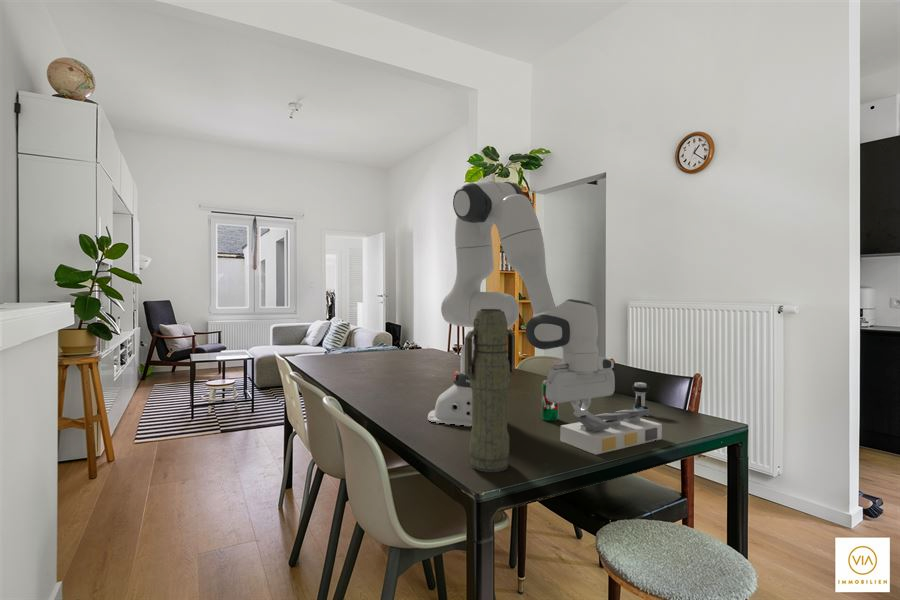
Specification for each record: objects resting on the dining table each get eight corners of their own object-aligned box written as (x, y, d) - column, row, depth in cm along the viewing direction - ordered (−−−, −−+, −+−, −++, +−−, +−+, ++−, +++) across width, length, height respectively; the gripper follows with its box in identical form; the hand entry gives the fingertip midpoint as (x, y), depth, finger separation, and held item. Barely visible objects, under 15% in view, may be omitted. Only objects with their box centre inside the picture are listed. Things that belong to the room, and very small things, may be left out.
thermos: (456, 463, 105) (457, 308, 105) (498, 454, 111) (500, 308, 111) (477, 476, 98) (478, 310, 97) (522, 466, 103) (523, 309, 103)
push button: (655, 417, 147) (655, 385, 146) (640, 417, 145) (640, 386, 145) (642, 411, 153) (642, 381, 153) (627, 412, 152) (628, 381, 152)
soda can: (559, 418, 144) (559, 379, 144) (557, 422, 139) (558, 382, 139) (542, 416, 146) (543, 378, 145) (540, 421, 141) (541, 381, 141)
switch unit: (596, 455, 111) (596, 433, 111) (560, 440, 122) (560, 421, 122) (662, 439, 124) (662, 420, 124) (624, 427, 134) (624, 410, 134)
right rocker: (638, 416, 122) (637, 411, 122) (614, 416, 129) (613, 411, 129) (650, 413, 125) (649, 408, 125) (626, 414, 131) (625, 409, 132)
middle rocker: (617, 420, 118) (616, 414, 118) (594, 420, 125) (593, 415, 125) (630, 417, 121) (629, 412, 121) (607, 417, 127) (606, 413, 128)
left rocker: (594, 431, 114) (595, 427, 114) (571, 416, 121) (572, 412, 121) (608, 428, 117) (609, 424, 117) (585, 414, 124) (586, 409, 123)
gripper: (556, 367, 112) (556, 424, 112) (618, 361, 121) (619, 413, 121) (540, 364, 118) (540, 418, 118) (600, 358, 127) (601, 408, 127)
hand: (581, 416), depth 120 cm, fingers closed, pressing on left rocker
